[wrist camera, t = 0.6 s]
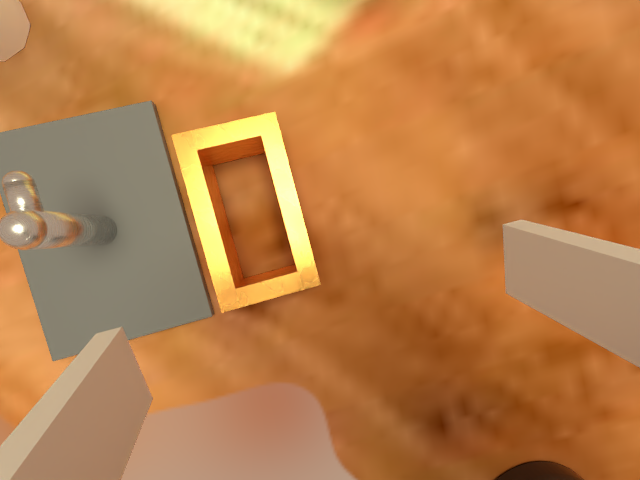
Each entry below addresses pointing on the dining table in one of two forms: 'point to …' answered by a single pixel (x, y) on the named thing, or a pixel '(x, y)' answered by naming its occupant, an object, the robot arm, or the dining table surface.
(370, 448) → the dining table surface
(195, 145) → the framed display niche
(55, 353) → the keeper plate
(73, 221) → the hook
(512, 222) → the robot arm
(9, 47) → the fire extinguisher
